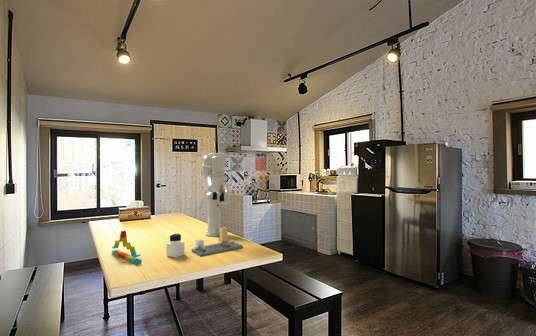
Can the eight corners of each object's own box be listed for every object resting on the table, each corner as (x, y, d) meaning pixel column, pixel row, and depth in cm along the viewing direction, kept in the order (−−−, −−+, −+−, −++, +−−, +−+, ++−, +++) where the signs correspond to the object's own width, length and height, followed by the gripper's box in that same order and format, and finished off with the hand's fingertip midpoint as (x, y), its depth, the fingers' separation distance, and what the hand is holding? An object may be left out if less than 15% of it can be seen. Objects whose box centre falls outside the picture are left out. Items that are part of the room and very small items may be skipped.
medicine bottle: (184, 254, 173) (184, 233, 173) (175, 257, 167) (174, 236, 167) (176, 252, 177) (175, 232, 177) (166, 256, 170) (166, 234, 170)
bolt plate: (191, 251, 178) (191, 240, 178) (232, 243, 195) (232, 233, 195) (200, 256, 169) (200, 244, 169) (242, 247, 186) (242, 237, 186)
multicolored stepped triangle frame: (142, 263, 159) (141, 234, 159) (136, 264, 157) (135, 235, 157) (117, 252, 179) (117, 227, 179) (111, 254, 177) (111, 228, 177)
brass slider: (218, 243, 189) (218, 227, 189) (225, 242, 192) (225, 226, 192) (225, 246, 182) (224, 229, 182) (232, 245, 185) (232, 228, 185)
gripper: (207, 174, 204) (207, 199, 205) (219, 175, 190) (219, 202, 191) (217, 174, 209) (217, 198, 209) (229, 175, 195) (229, 201, 195)
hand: (218, 200), depth 200 cm, fingers open, 9 cm apart
